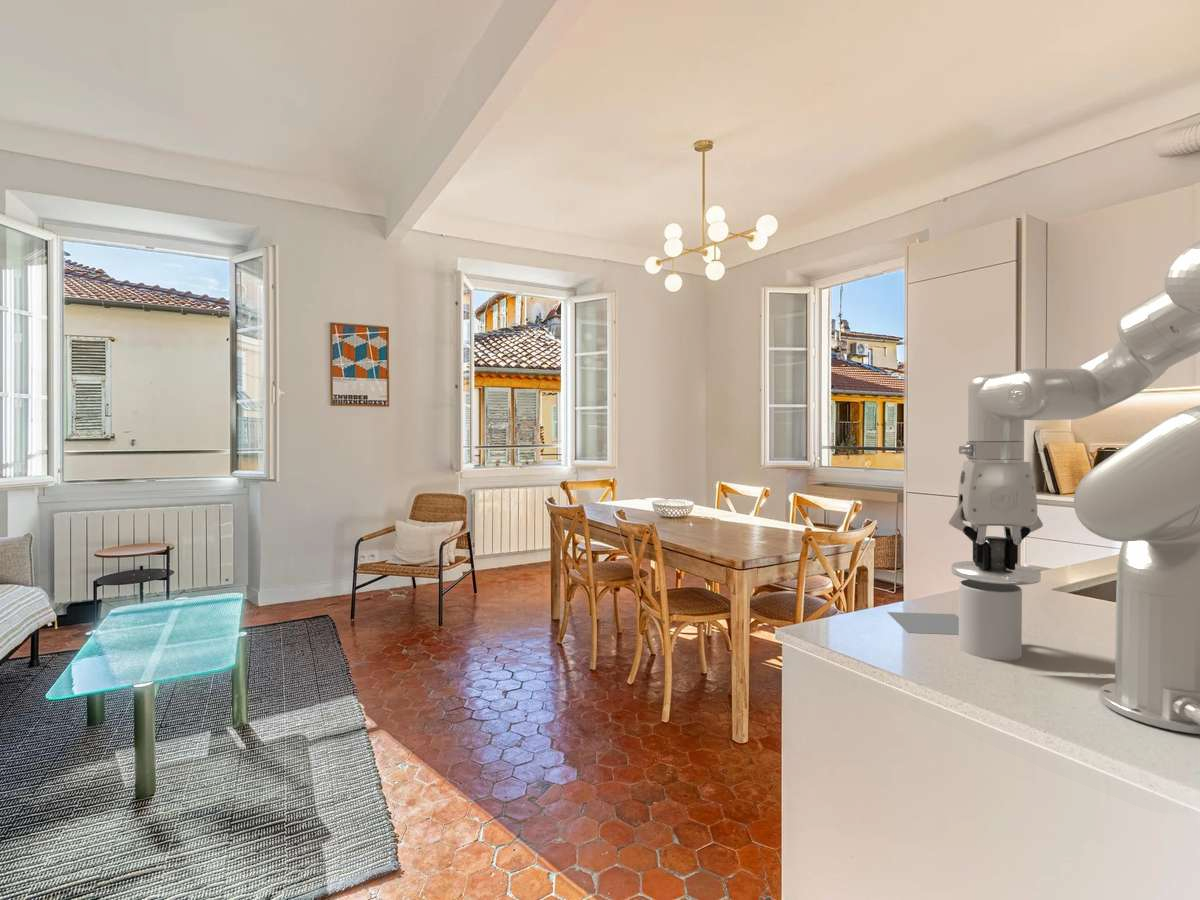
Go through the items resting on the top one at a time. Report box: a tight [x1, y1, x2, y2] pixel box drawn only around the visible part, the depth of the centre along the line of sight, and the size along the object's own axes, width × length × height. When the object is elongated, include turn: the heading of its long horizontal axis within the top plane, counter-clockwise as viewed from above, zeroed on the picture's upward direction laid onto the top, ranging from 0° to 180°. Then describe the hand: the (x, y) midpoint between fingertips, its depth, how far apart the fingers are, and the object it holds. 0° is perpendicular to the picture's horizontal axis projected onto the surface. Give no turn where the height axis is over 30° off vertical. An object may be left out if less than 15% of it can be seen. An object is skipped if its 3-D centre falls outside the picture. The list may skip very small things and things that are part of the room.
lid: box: [951, 535, 1042, 586], centre depth 99 cm, size 12×12×6 cm
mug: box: [957, 579, 1023, 661], centre depth 99 cm, size 12×8×11 cm
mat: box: [887, 611, 959, 636], centre depth 112 cm, size 12×12×1 cm
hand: (994, 566), depth 99 cm, fingers closed on lid, 3 cm apart
